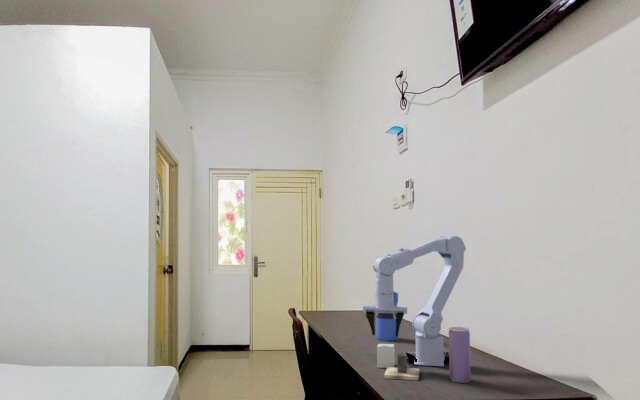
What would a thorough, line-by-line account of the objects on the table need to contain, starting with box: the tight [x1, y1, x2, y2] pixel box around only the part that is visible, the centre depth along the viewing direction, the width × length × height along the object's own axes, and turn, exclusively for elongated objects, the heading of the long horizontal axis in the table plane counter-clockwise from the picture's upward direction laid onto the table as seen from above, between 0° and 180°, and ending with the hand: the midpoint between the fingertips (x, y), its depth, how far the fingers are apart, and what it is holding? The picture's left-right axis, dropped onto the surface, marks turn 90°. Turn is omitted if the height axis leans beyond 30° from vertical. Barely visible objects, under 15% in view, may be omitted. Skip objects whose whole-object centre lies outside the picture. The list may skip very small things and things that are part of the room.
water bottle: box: [375, 290, 399, 342], centre depth 210 cm, size 9×9×25 cm
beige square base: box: [383, 353, 420, 381], centre depth 152 cm, size 10×10×6 cm
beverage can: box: [448, 326, 472, 384], centre depth 147 cm, size 6×6×15 cm
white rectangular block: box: [376, 343, 395, 369], centre depth 164 cm, size 5×5×7 cm
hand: (385, 335), depth 164 cm, fingers open, 7 cm apart
